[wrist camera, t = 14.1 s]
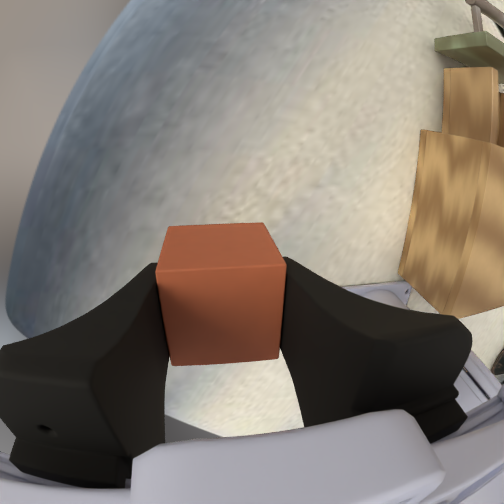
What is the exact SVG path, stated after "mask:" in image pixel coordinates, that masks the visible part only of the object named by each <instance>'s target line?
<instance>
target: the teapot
mask: <svg viewBox="0 0 504 504" xmlns="http://www.w3.org/2000/svg"><path fill="white" fill-rule="evenodd" d="M492 373H493V374H494V375H499V374H504V350H503V351H502V352H501V354H500V355H499V357H498V358H497V360H496V362H495V364H494V365H493V369H492Z"/></svg>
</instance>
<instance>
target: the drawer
mask: <svg viewBox="0 0 504 504" xmlns="http://www.w3.org/2000/svg"><path fill="white" fill-rule="evenodd" d="M465 1H466V3H467V4H469V5H470V6H471V11H472V19H473V27H474V32H473V33H465V34H459V35H452V36H447V37H441V38H436V39H434V42H435V51H436V52H438V53H440V54H443V55H445V56H447V57H449V58H452V59H454V60H456V61H458V62H460V63H462V64H464V65H466V66H468V67H465V68H444V99H443V120H442V133H446V134H451V135H456V136H461V137H466V138H471V139H475V140H480V141H484V142H488V143H492V144H495V145H498V146H500V147H503V148H504V93H500V92H498V83H500V84H504V43H503V42H501V41H500V40H498V39H497V38H496V37H494V36H493V35H491V34H490V33H488V32H487V31H483V26H482V18H481V13H483V14H484V15H486V16H487V17H489V18H490V19H491V20H493V21H494V22H496V23H497V24H498V25H500V26H501V27H503V28H504V13H503V12H501V11H500V10H499V9H497V8H496V7H495V6H493V5H492V4H491V3H489V2H488V1H486V0H465Z"/></svg>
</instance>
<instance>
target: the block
mask: <svg viewBox="0 0 504 504" xmlns="http://www.w3.org/2000/svg"><path fill="white" fill-rule="evenodd" d="M286 268H287V265H286V263H285V261H284V259H283V257H282V255H281V254H280V252H279V250H278V248H277V246H276V245H275V243H274V241H273V239H272V237H271V236H270V234H269V232H268V230H267V229H266V227H265V225H264V223H234V224H209V225H187V226H169V227H168V230H167V233H166V236H165V240H164V243H163V246H162V250H161V253H160V257H159V260H158V264H157V268H156V271H155V273H156V280H157V287H158V293H159V300H160V306H161V312H162V318H163V323H164V329H165V334H166V340H167V345H168V350H169V355H170V360H171V364H172V366H187V365H210V364H226V363H239V362H251V361H262V360H272V359H278V358H279V350H280V339H281V329H282V317H283V306H284V294H285V281H286Z"/></svg>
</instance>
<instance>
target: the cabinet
mask: <svg viewBox="0 0 504 504" xmlns="http://www.w3.org/2000/svg"><path fill="white" fill-rule="evenodd" d="M398 274H399V275H400V276H401V277H402V278H403V279H404V280H405V281H406V282H408V283H409V284H410V285H411V286H412V287H413V288H414V289H415V290H416V291H417V292H418V293H419V294H420V295H421V296H422V297H423V298H424V299H425V300H426V301H428V302H429V303H430V304H431V305H432V306H433V307H434V308H435V309H436V310H437V311H438V312H439V313H440V314H443V315H453V316H455V317H456V318H457V319H460V318H463V317H467V316H471V315H474V314H478V313H481V312H485V311H488V310H491V309H495V308H498V307H501V306H504V148H503V147H500V146H498V145H495V144H492V143H488V142H484V141H480V140H475V139H471V138H466V137H461V136H456V135H451V134H446V133H440V132H434V131H428V130H421V134H420V145H419V155H418V164H417V172H416V180H415V187H414V194H413V200H412V206H411V212H410V218H409V223H408V228H407V233H406V238H405V243H404V248H403V252H402V257H401V261H400V265H399V269H398Z"/></svg>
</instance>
